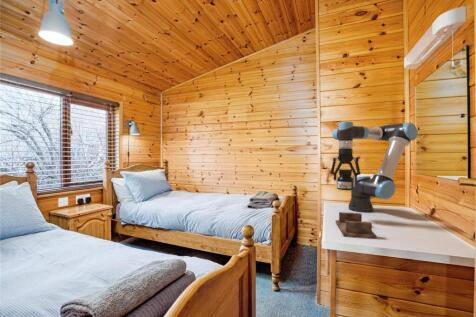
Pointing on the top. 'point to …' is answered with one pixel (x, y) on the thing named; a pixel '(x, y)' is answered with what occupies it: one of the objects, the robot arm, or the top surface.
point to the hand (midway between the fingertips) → (344, 186)
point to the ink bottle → (345, 179)
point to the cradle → (354, 226)
